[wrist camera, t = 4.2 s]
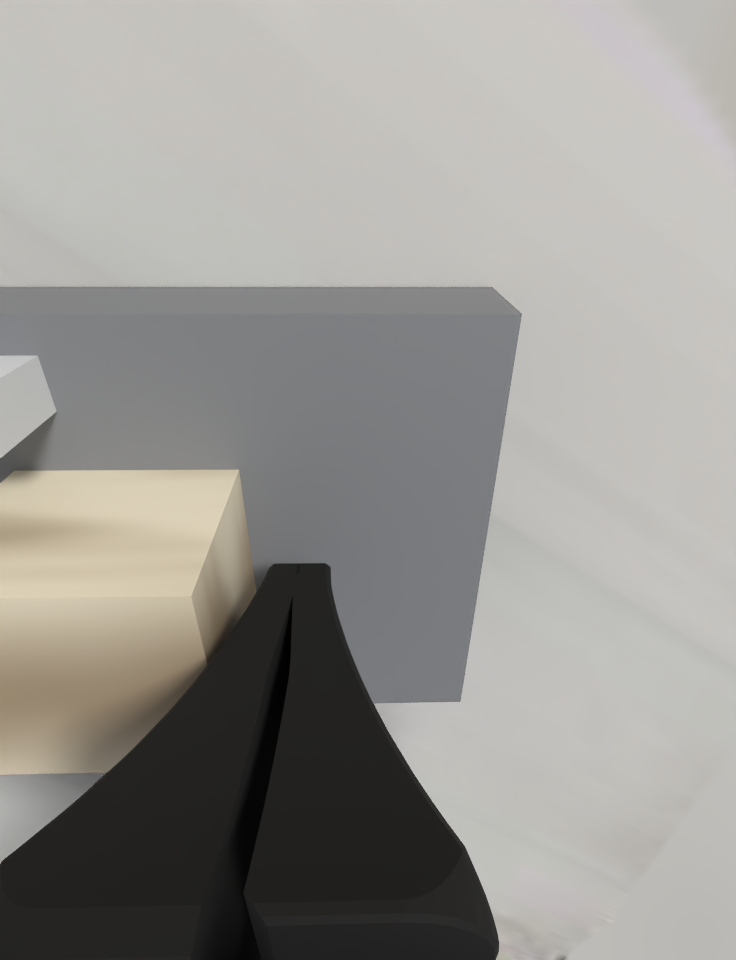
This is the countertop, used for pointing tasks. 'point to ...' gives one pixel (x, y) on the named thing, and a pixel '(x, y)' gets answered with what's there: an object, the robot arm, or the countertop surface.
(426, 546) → the grey long flat tray
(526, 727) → the countertop surface
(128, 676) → the block
